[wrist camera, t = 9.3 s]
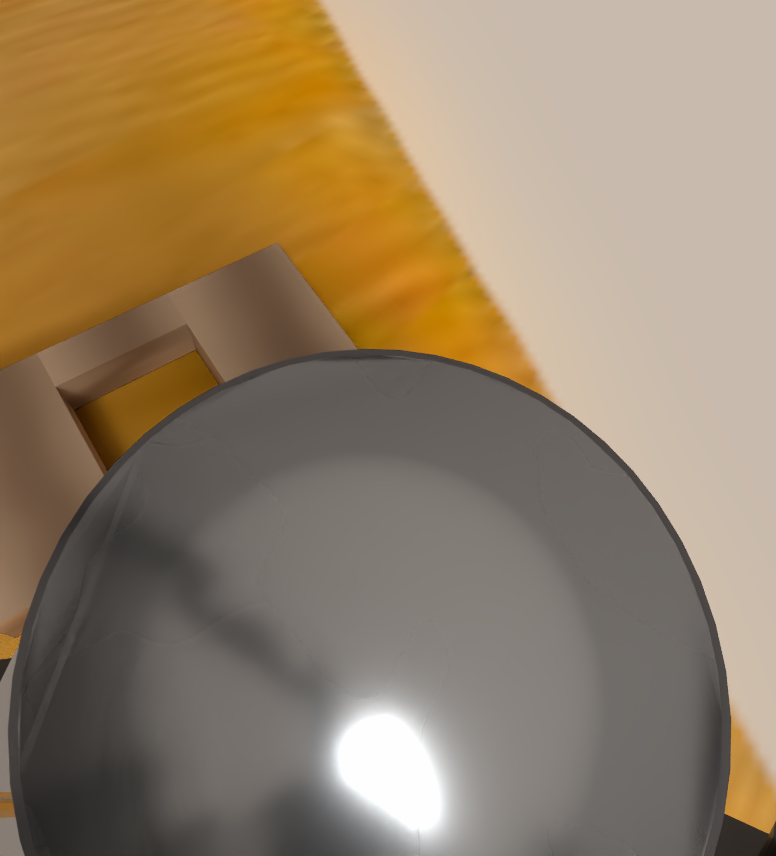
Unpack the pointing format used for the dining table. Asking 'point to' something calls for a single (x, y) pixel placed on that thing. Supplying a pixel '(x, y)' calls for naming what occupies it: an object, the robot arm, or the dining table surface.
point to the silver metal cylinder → (369, 634)
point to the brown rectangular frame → (118, 365)
